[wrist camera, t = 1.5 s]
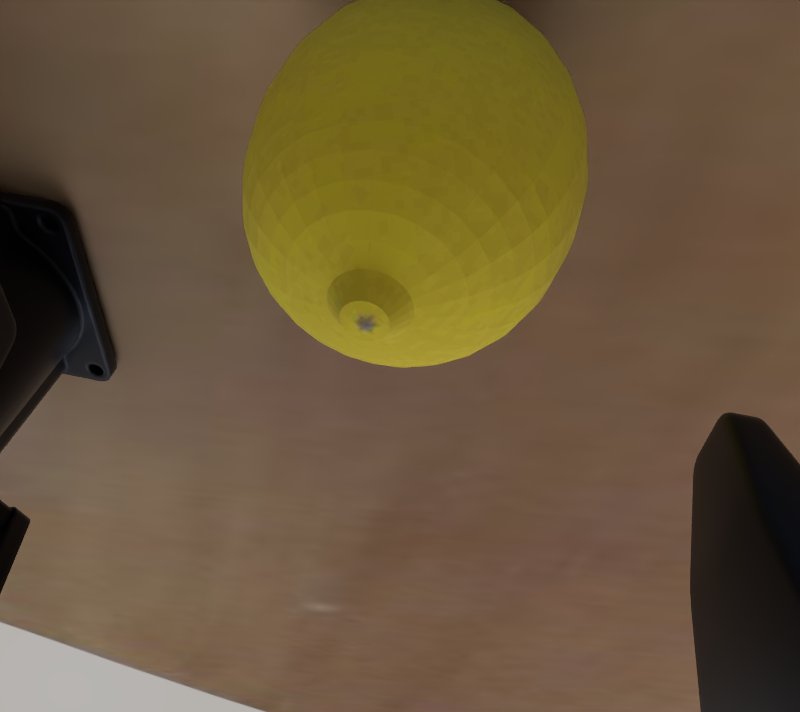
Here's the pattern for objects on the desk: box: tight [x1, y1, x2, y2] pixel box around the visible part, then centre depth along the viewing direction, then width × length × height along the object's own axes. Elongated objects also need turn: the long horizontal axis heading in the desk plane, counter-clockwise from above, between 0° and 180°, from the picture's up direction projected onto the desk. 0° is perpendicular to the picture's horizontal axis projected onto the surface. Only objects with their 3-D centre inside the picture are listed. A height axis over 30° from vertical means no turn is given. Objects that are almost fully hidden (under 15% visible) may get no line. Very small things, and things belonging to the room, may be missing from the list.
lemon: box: [243, 0, 588, 367], centre depth 12 cm, size 6×6×8 cm
